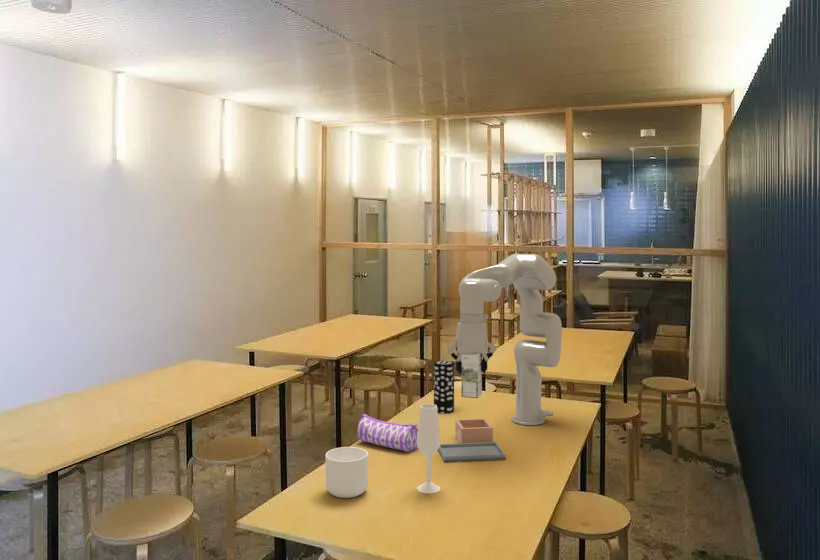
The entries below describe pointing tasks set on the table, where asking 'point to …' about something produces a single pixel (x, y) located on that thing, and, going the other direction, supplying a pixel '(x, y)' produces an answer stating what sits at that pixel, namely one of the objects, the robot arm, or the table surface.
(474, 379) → the syrup box
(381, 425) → the pencil case
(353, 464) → the handleless ceramic cup
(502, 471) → the table surface
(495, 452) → the tray
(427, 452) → the champagne flute
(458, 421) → the holder
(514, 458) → the table surface
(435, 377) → the spotted tube
